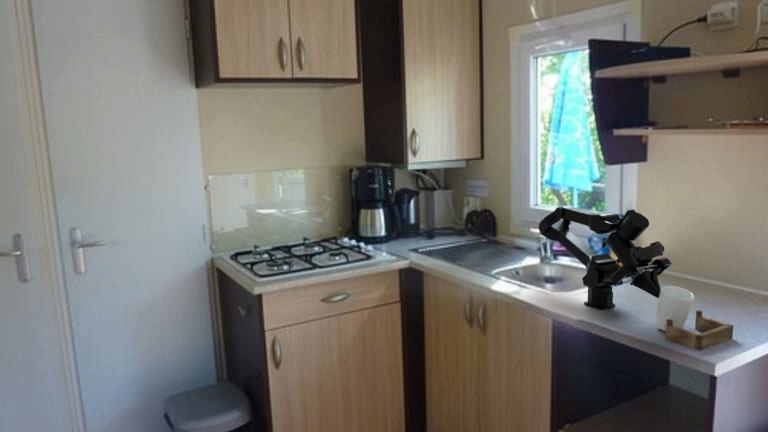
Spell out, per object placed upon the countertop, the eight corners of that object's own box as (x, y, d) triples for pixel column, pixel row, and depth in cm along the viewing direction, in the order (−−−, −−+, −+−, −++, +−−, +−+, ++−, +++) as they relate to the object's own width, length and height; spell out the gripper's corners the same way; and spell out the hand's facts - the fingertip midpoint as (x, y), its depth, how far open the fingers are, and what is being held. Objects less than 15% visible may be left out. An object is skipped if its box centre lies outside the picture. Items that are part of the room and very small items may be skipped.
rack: (665, 339, 148) (666, 320, 147) (697, 328, 155) (699, 309, 154) (699, 350, 140) (700, 330, 140) (732, 338, 147) (733, 319, 146)
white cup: (645, 322, 156) (653, 288, 152) (664, 316, 160) (673, 283, 156) (672, 337, 150) (681, 302, 146) (691, 330, 153) (700, 296, 150)
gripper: (619, 236, 153) (657, 286, 145) (665, 228, 162) (703, 274, 154) (595, 261, 161) (630, 310, 153) (640, 252, 170) (675, 297, 162)
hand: (660, 297), depth 155 cm, fingers closed, pressing on white cup
